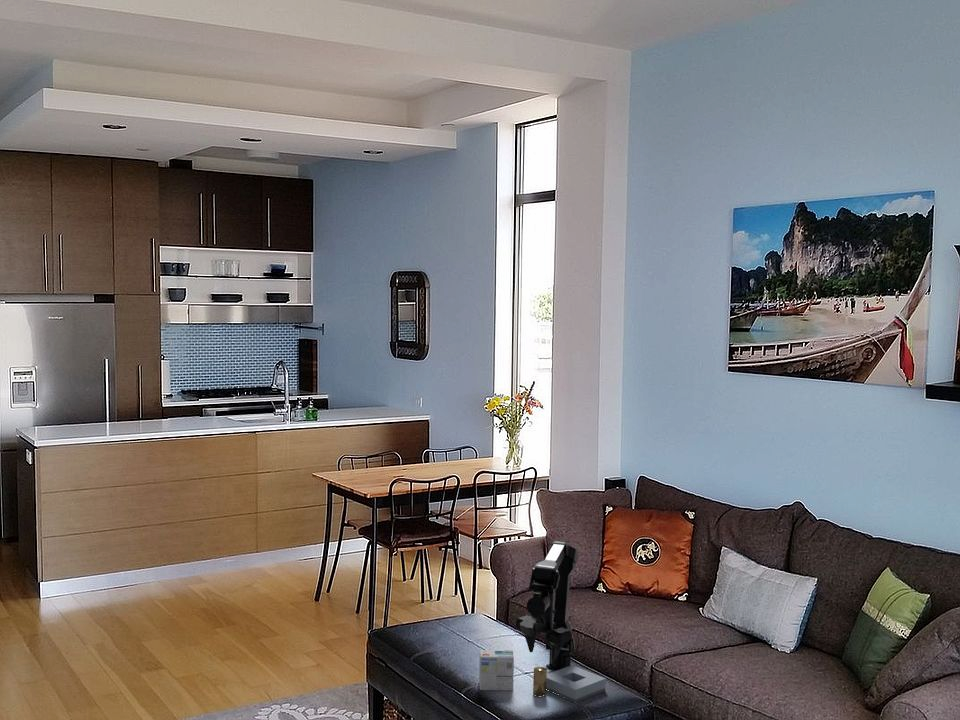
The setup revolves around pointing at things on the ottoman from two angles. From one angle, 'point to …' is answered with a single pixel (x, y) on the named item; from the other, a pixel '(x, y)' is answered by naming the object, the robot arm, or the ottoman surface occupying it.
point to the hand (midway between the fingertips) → (542, 656)
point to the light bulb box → (496, 670)
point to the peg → (539, 681)
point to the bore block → (575, 683)
